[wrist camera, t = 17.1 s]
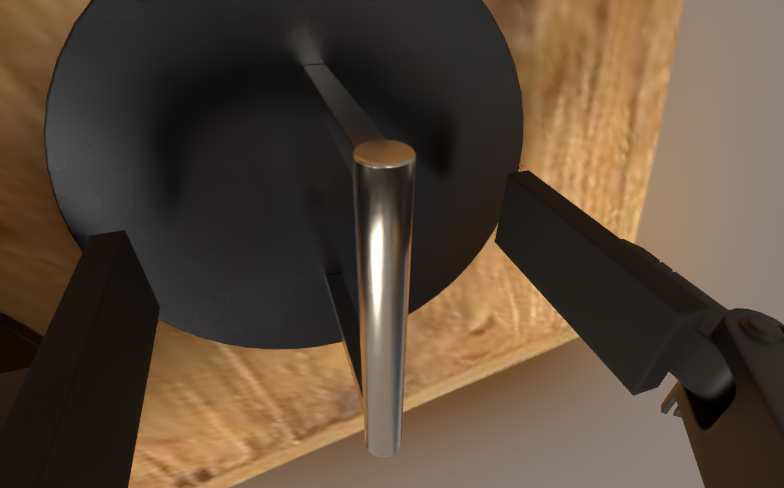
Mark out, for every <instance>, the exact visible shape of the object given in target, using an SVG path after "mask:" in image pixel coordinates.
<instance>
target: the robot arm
mask: <svg viewBox="0 0 784 488" xmlns="http://www.w3.org/2000/svg"><path fill="white" fill-rule="evenodd" d="M495 243H496V244H497V245H498V246H499V247H500V248H501V249H502V250H503V252H504V253H505V254H506V255H507V256H508V257H509V258H510V259H511V260H512V262H513V263H514V264H515V265H516V266H517V267H518V268H519V269H520V270H521V272H522V273H523V274H524V275H525V276H526V277H527V278H528V279H529V280H530V282H531V283H532V284H533V285H534V286H535V287H536V288H537V289H538V290H539V291H540V293H541V294H542V295H543V296H544V297H545V298H546V299H547V300H548V301H549V303H550V304H551V305H552V306H553V307H554V308H555V309H556V310H557V311H558V313H559V314H560V315H561V316H562V317H563V318H564V319H565V320H566V321H567V323H568V324H569V325H570V326H571V327H572V328H573V329H574V330H575V331H576V333H577V334H578V335H579V336H580V337H581V338H582V339H583V340H584V341H585V342H586V344H587V345H588V346H589V347H590V348H591V349H592V350H593V351H594V352H595V354H596V355H597V356H598V357H599V358H600V359H601V360H602V361H603V362H604V364H605V365H606V366H607V367H608V368H609V369H610V370H611V371H612V372H613V373H614V374H615V376H616V377H617V378H618V379H619V380H620V381H621V382H622V383H623V385H624V386H625V387H626V388H627V389H628V390H629V391H630V392H631V393H632V395H636V394H639V393H642V392H645V391H648V390H651V389H654V388H657V387H658V386H659V385H660V383H661V382H662V380H663V379H664V378H665V376H666V375H667V373H668V372H670V373H671V374H672V375H674V376H675V377H676V378H677V379H678V382H677V383H676V384H675V386H674V387H673V389H672V390H671V392H670V393H669V394H668V396H667V397H666V399H665V400H664V402H663V403H662V405H661V412H662V413H665V414H667V412H668V411H669V410H670V408H671V407H672V406H673V404H674V403H675V402H676V401H677V404H678V407H677V408H676V409H675V411H674V414H673V415H674V416H678V417H682V419H683V422H684V425H685V428H686V431H687V434H688V437H689V440H690V443H691V447H692V449H693V453H694V456H695V459H696V461H697V465H698V468H699V471H700V474H701V477H702V480H703V483H704V486H705V488H784V325H783V324H782V323H780V322H779V321H777V320H776V319H774V318H772V317H770V316H767V315H765V314H763V313H760V312H757V311H753V310H750V309H738V308H736V309H732V310H728V309H726V308H725V307H723V306H722V305H720V304H719V303H718V302H716V301H715V300H714V299H712V298H711V297H709V296H708V295H707V294H705V293H704V292H703V291H701V290H700V289H699V288H697V287H696V286H694V285H693V284H691V283H690V282H689V281H688V280H686V279H685V278H683V277H682V276H680V275H679V274H678V273H677V272H673V271H672V269H671V268H670V267H668V266H667V265H665V264H664V263H663V262H661V263H660V262H659V260H658V259H657V258H656V257H655V256H653V255H652V254H651V253H649V252H648V251H646V250H645V249H644V248H642V247H640V246H638V245H635V244H633V243H631V242H629V241H627V240H624V239H619V238H618V237H617V236H615V235H614V234H613V233H611V232H610V231H609V230H607V229H606V228H605V227H603V226H602V225H601V224H599V223H598V222H597V221H595V220H594V219H593V218H591V217H590V216H589V215H587V214H586V213H585V212H583V211H582V210H581V209H579V208H578V207H577V206H575V205H574V204H573V203H571V202H570V201H569V200H567V199H566V198H565V197H563V196H562V195H561V194H559V193H558V192H557V191H555V190H554V189H553V188H551V187H550V186H549V185H547V184H546V183H545V182H543V181H542V180H541V179H539V178H538V177H537V176H535V175H534V174H533V173H531V172H530V171H529V170H528V171H522V172H515V173H508V178H507V183H506V188H505V193H504V198H503V203H502V208H501V213H500V218H499V223H498V228H497V233H496V238H495ZM159 311H160V306H159V304H158V301H157V299H156V297H155V295H154V292H153V290H152V288H151V286H150V284H149V281H148V279H147V277H146V275H145V273H144V270H143V268H142V266H141V264H140V262H139V259H138V257H137V255H136V253H135V251H134V248H133V246H132V244H131V242H130V240H129V237H128V235H127V233H126V231H125V230H123V231H116V232H109V233H102V234H96V235H91V236H90V238H89V240H88V243H87V245H86V247H85V249H84V251H83V253H82V256H81V258H80V260H79V262H78V264H77V266H76V269H75V271H74V273H73V275H72V277H71V279H70V282H69V284H68V286H67V288H66V290H65V292H64V295H63V297H62V299H61V301H60V303H59V305H58V308H57V310H56V312H55V314H54V316H53V318H52V321H51V323H50V325H49V327H48V329H47V331H46V334H45V336H44V338H43V340H42V342H41V344H40V347H39V349H38V351H37V353H36V355H35V357H34V360H33V362H32V364H31V366H30V367H29V368H24V369H20V370H15V371H10V372H6V373H1V374H0V488H128V484H129V478H130V473H131V467H132V462H133V456H134V451H135V445H136V439H137V434H138V428H139V423H140V417H141V412H142V406H143V400H144V395H145V389H146V384H147V378H148V373H149V367H150V361H151V356H152V350H153V345H154V339H155V334H156V328H157V322H158V317H159Z"/></svg>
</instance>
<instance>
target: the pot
mask: <svg viewBox="0 0 784 488" xmlns="http://www.w3.org/2000/svg"><path fill="white" fill-rule="evenodd" d="M42 340H43V337H41V336H40V335H38V334H37V333H35V332H34V331H32V330H31V329H29V328H28V327H26V326H25V325H23V324H21V323H19V322H17V321H15V320H13V319H11V318H9V317H7V316H5V315H4V314H2V313H0V374H1V373H6V372H10V371H15V370H20V369H24V368H29V367H30V366H31V364H32V362H33V360H34V357H35V355H36V353H37V351H38V349H39V347H40V344H41V342H42Z"/></svg>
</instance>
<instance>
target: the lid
mask: <svg viewBox="0 0 784 488" xmlns="http://www.w3.org/2000/svg"><path fill="white" fill-rule="evenodd" d="M44 142H45V153H46V163H47V171H48V174H49V178H50V182H51V185H52V189H53V193H54V196H55V200H56V203H57V205H58V207H59V210H60V212H61V214H62V216H63V218H64V221H65V223H66V225H67V227H68V229H69V232H70V233H71V235H72V236H73V238H74V239H75V241H76V242H77V244H78V245H79V247H80V249H81V250H82V252H83V251H84V249H85V247H86V245H87V243H88V240H89V238H90V236H91V235H96V234H102V233H109V232H116V231H123V230H125V231H126V233H127V235H128V237H129V240H130V242H131V244H132V246H133V248H134V251H135V253H136V255H137V257H138V259H139V262H140V264H141V266H142V268H143V270H144V273H145V275H146V277H147V279H148V281H149V284H150V286H151V288H152V290H153V292H154V295H155V297H156V299H157V301H158V304H159V306H160V311H159V317H158V319H160V320H162V321H164V322H165V323H167V324H169V325H171V326H173V327H175V328H178V329H180V330H183V331H185V332H188V333H191V334H193V335H196V336H198V337H201V338H205V339H209V340H213V341H216V342H220V343H224V344H229V345H235V346H241V347H247V348H260V349H299V348H309V347H318V346H323V345H328V344H333V343H338V342H343V345H344V349H345V352H346V355H347V359H348V362H349V366H350V369H351V372H352V376H353V379H354V383H355V386H356V389H357V393H358V396H359V400H360V403H361V406H362V410H363V413H364V428H365V443H366V447H367V449H368V450H369V451H370V453H371V454H373V455H374V456H377V457H381V458H386V457H389V456H392V455H393V454H394V453H396V452H397V450H398V449H399V447H400V444H401V434H402V415H403V396H404V377H405V357H406V338H407V319H408V314H410V313H412V312H414V311H415V310H417V309H419V308H420V307H422V306H423V305H424V304H426V303H427V302H429V301H430V300H431V299H433V298H434V297H436V296H437V295H438V294H439V293H440V292H442V291H443V290H444V289H445V288H446V287H447V286H449V285H450V284H451V283H452V282H453V281H454V280H455V279H456V278H457V277H458V276H459V275H460V274H461V273H462V272H463V271H464V270H465V269H466V268H467V267H468V266H469V264H470V263H471V262H472V261H473V259H474V258H475V257H476V256H477V255H478V253H479V252H480V251H481V250H482V248H483V247H484V245H485V244H486V242H487V241H488V239H489V237H490V236H491V234H492V233H493V231H494V230H495V228H496V226H497V224H498V222H499V218H500V213H501V208H502V203H503V198H504V193H505V188H506V183H507V178H508V173H515V172H518V169H519V163H520V157H521V151H522V144H523V107H522V96H521V89H520V85H519V81H518V76H517V72H516V67H515V64H514V61H513V59H512V56H511V53H510V51H509V48H508V45H507V43H506V40H505V38H504V36H503V34H502V32H501V30H500V28H499V27H498V25H497V23H496V21H495V19H494V18H493V16H492V14H491V12H490V10H489V9H488V8H487V7H486V5H485V4H484V3H483V1H482V0H91V1H90V3H89V4H88V5H87V7H86V8H85V9H84V11H83V12H82V13H81V15H80V16H79V17H78V19H77V20H76V21H75V23H74V25H73V27H72V29H71V31H70V33H69V35H68V37H67V39H66V41H65V43H64V46H63V48H62V50H61V52H60V54H59V56H58V58H57V61H56V64H55V68H54V72H53V75H52V79H51V83H50V86H49V90H48V94H47V99H46V111H45V123H44Z"/></svg>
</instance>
